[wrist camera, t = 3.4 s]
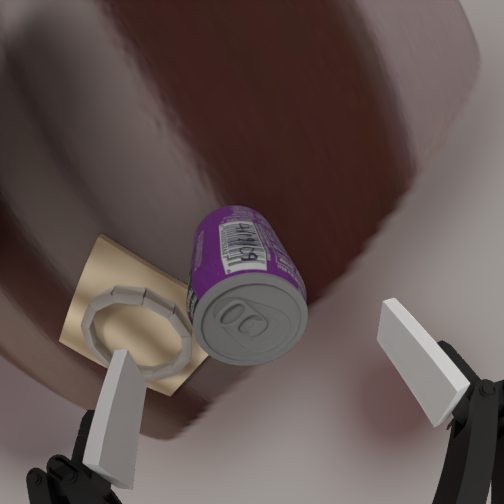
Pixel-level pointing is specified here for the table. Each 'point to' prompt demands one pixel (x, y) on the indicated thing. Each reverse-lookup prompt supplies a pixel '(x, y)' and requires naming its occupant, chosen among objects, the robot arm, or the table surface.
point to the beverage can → (244, 289)
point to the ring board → (133, 317)
